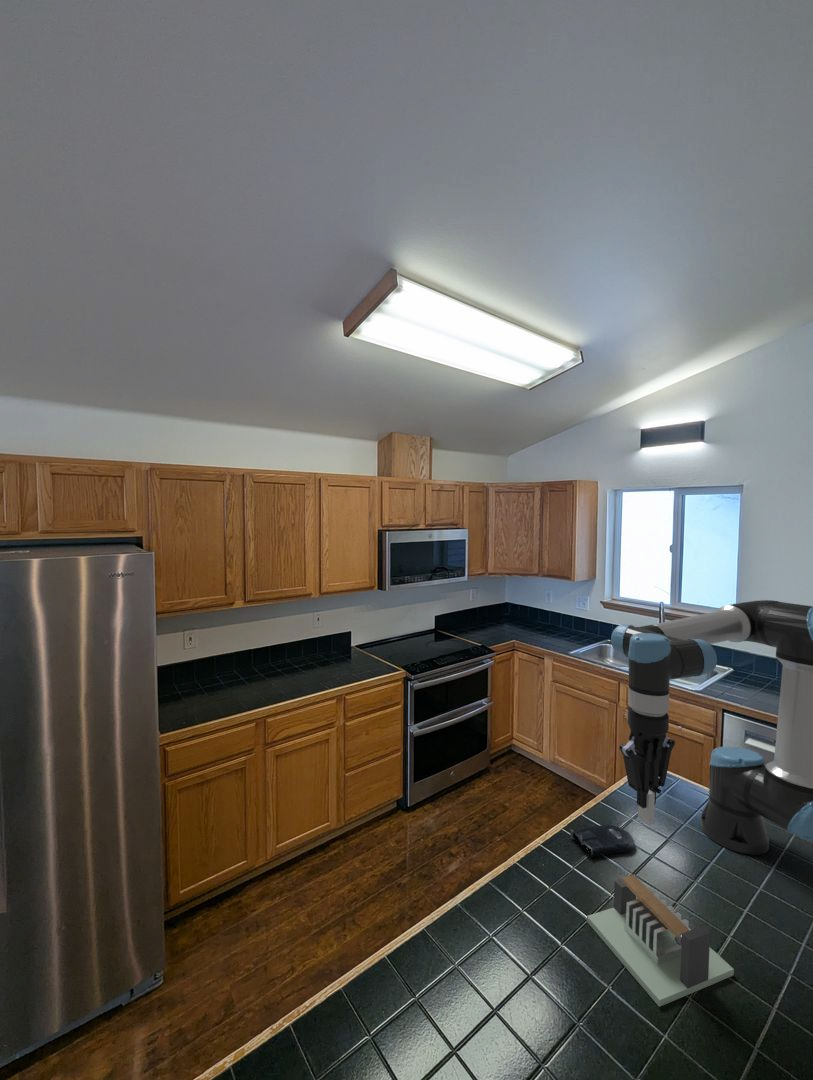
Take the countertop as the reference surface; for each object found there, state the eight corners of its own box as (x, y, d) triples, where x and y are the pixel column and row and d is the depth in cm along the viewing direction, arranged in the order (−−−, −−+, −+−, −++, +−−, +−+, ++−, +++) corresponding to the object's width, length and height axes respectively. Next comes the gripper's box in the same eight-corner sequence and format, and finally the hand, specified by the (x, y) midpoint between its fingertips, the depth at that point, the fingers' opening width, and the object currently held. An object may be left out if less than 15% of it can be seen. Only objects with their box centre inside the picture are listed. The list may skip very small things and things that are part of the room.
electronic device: (594, 869, 114) (643, 850, 118) (590, 846, 114) (639, 828, 118) (571, 849, 123) (617, 831, 127) (567, 827, 123) (613, 811, 127)
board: (653, 900, 103) (654, 856, 102) (733, 975, 86) (735, 923, 85) (586, 921, 97) (588, 875, 96) (659, 1006, 80) (661, 951, 79)
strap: (635, 878, 99) (636, 872, 99) (698, 940, 85) (698, 934, 85) (619, 883, 97) (619, 877, 97) (680, 947, 83) (680, 940, 83)
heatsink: (654, 919, 96) (655, 891, 96) (689, 953, 89) (690, 923, 88) (624, 929, 94) (625, 901, 93) (657, 965, 86) (658, 934, 86)
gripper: (656, 698, 101) (654, 803, 102) (609, 707, 97) (607, 816, 98) (687, 712, 94) (685, 824, 95) (638, 721, 90) (636, 839, 91)
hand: (646, 820), depth 97 cm, fingers closed
